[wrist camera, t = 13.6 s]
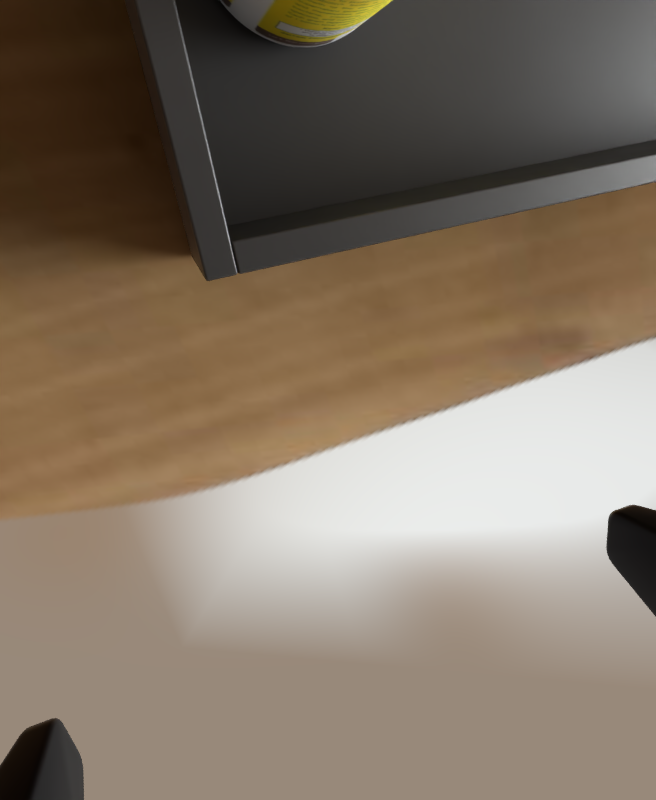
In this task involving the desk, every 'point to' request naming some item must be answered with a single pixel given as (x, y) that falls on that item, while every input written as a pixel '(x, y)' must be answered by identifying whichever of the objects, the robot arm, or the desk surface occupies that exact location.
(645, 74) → the black rectangular tray
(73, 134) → the desk surface
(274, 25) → the supplement bottle
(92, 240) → the desk surface
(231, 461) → the desk surface
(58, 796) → the robot arm
